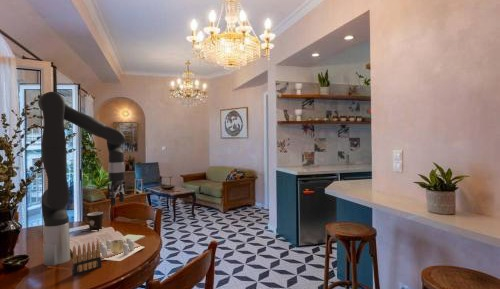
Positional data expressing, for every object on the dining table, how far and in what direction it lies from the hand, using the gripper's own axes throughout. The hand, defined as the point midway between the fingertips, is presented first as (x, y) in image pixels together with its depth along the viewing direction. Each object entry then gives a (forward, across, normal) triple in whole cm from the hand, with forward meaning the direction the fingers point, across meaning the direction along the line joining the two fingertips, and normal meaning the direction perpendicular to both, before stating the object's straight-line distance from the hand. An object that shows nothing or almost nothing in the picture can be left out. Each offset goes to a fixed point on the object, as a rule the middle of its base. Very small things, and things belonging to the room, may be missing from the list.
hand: (117, 203), depth 155 cm
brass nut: (+21, -8, -4) cm, 23 cm away
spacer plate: (+22, -8, -4) cm, 24 cm away
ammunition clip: (+23, -28, -1) cm, 36 cm away
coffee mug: (+22, +29, +30) cm, 47 cm away
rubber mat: (+22, +11, -1) cm, 24 cm away
